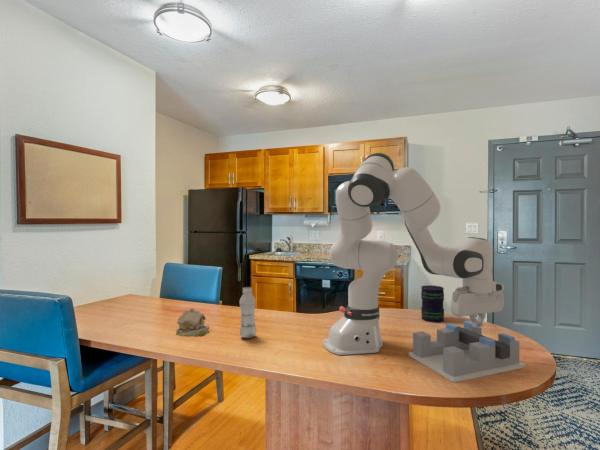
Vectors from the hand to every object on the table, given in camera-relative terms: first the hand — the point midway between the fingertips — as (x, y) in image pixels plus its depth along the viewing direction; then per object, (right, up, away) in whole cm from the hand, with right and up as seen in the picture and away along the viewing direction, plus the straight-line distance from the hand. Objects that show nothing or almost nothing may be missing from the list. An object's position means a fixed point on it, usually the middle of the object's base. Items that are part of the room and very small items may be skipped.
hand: (477, 326), depth 109 cm
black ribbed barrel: (+2, -10, +42) cm, 44 cm away
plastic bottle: (-81, -11, +22) cm, 84 cm away
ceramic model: (-105, -12, +29) cm, 110 cm away
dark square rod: (0, -6, -1) cm, 6 cm away
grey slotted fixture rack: (-6, -11, -3) cm, 12 cm away
